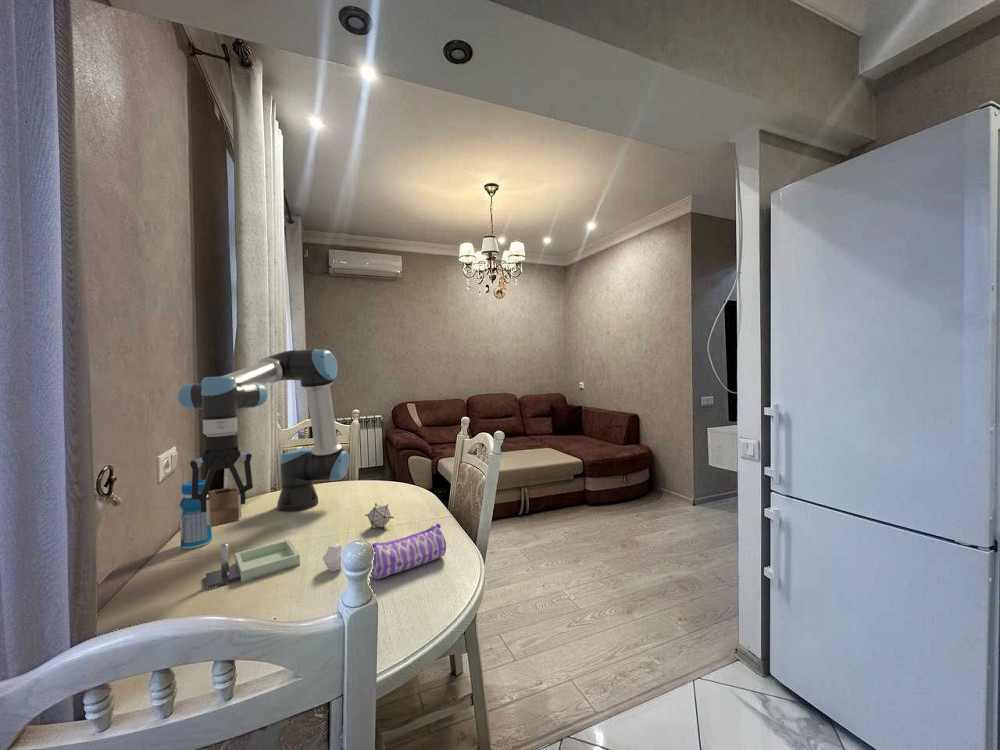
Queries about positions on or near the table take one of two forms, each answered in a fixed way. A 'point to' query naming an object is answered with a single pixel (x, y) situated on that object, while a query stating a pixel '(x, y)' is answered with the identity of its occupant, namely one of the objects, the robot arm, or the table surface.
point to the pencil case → (408, 552)
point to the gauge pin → (223, 571)
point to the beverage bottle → (193, 519)
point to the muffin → (333, 557)
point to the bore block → (223, 506)
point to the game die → (379, 516)
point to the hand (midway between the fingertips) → (224, 519)
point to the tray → (266, 560)
